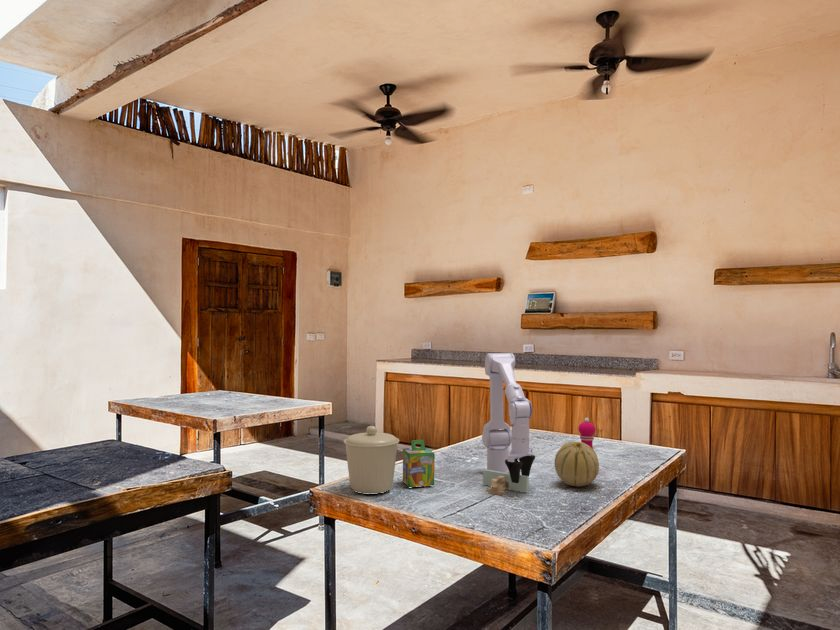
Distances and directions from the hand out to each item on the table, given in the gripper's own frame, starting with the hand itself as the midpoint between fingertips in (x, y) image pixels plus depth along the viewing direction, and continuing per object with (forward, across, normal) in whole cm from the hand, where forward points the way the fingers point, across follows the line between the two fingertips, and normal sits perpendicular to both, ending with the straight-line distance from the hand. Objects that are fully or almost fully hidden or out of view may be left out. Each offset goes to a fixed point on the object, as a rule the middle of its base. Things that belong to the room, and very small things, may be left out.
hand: (520, 479), depth 186 cm
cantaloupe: (+4, +17, -13) cm, 21 cm away
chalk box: (+4, -13, +31) cm, 34 cm away
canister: (+4, -28, +39) cm, 49 cm away
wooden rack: (+4, 0, +5) cm, 6 cm away
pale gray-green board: (+4, 0, +5) cm, 6 cm away
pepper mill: (+4, +36, -10) cm, 37 cm away
